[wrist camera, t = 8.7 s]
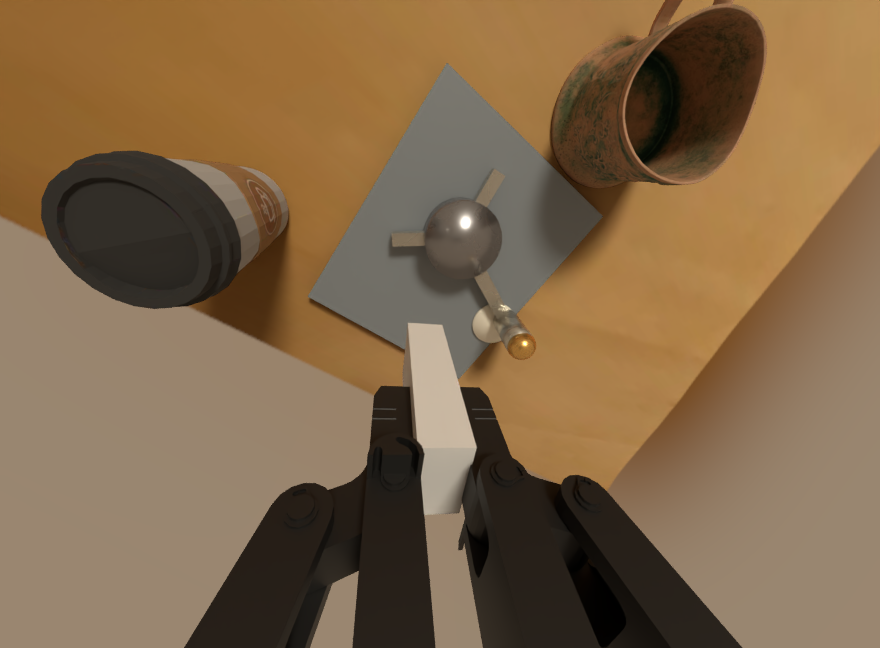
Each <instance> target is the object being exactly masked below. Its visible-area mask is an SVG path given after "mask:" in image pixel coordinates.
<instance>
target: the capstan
mask: <svg viewBox="0 0 880 648" xmlns="http://www.w3.org/2000/svg"><path fill="white" fill-rule="evenodd" d="M504 178H505V175H503V174H502V173H500V172H499V171H497V170H496V169H494V168H491V170H490V172H489V174H488V175H487V177H486V179H485V181H484V182H483V184H482V186H481V188H480V189H479V191H478V193H477V194H476V196H475V198H474V200H472V199H469V198H464V197H457V198H451V199H448V200H446V201H444V202H442V203H440V204H439V205H438V206H436V207H435V208H434V209H433V211H432V212H431V213H430V215H429V216H428V218H427V220H426V223H425V226H424V231H392V247H397V246H425V248H426V252H427V255H428V258H429V260H430V262H431V263H432V265H433V266H434V267H435V268H436V269H437V270H438V271H439V272H440V273H442V274H443V275H445V276H447V277H450V278H453V279H469V278H473V277H474V278H475V280H476V282H477V284H478V285H479V287H480V289H481V291H482V293H483V294H484V296H485V298H486V300H487V302H488V304H489V305H490V307H491V309H492V311H493V313H494V314H495V317H494V319H493V325H494V327H495V329H496V331H497V333H498V334H499V336H500V338H501V340H502V342H503V343H504V345H505V347H506V349H507V351H508V352H509V354H510V355H511V356H512V357H513V358H515V359H518V360H525V359H528V358H530V357H531V356H532V355H533V354H534V352H535V349H536V342H535V339H534V338H533V336H532V335H531V334H530V332H529V331H528V330H527V328H526V327H525V325H524V324H523V323H522V321H521V320H520V319H519V317H518V316H517V315H516V313H515V312H514V311H512V310H509V309H507V308H506V306H505V305H504V303H503V301H502V299H501V297H500V295H499V293H498V291H497V289H496V287H495V286H494V284H493V282H492V280H491V278H490V276H489V274H488V272H487V269H489V268H490V267H491V266H492V264H493V263H494V262H495V260H496V259H497V257H498V255H499V252H500V249H501V245H502V230H501V226H500V224H499V221H498V219H497V218H496V216H495V215H494V214H493V212H492V211H491V210H489V209H488V208H487V206H488V205H489V203H490V201H491V200H492V198H493V196H494V195H495V193H496V191H497V189H498V188H499V186H500V184H501V183H502V181H503V179H504Z"/></svg>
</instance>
